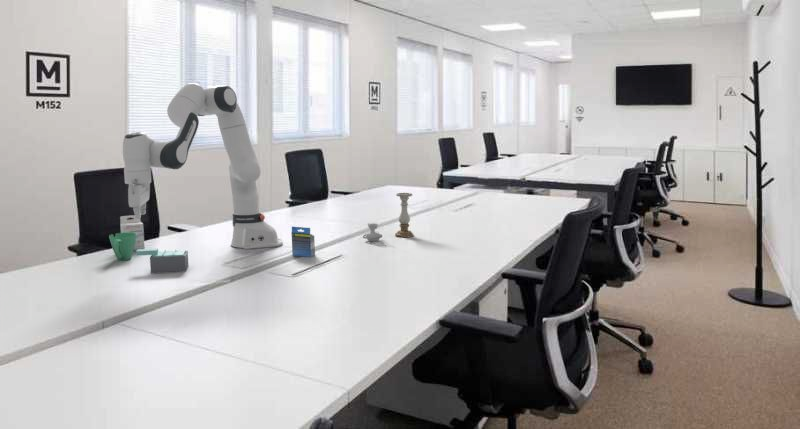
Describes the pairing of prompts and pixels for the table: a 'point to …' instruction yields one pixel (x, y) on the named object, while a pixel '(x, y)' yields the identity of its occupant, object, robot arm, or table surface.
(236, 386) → the table surface
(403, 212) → the candle holder
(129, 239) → the mug
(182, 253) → the lid
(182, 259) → the tub
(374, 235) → the grey oil lamp
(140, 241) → the ink box
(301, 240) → the label tape box
